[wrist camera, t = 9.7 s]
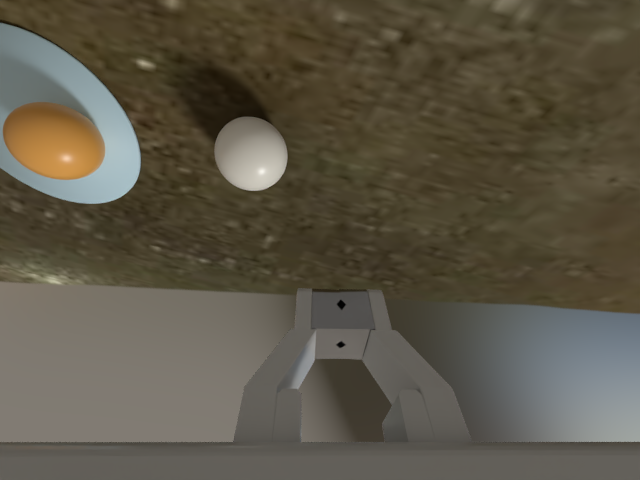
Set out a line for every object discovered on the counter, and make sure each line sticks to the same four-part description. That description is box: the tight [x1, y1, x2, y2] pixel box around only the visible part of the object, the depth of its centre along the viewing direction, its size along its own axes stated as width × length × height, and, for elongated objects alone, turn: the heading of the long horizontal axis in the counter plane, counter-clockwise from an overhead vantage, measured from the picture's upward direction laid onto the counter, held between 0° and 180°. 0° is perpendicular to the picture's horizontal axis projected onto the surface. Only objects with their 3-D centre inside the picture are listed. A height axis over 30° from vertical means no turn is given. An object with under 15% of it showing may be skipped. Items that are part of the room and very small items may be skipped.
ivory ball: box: [215, 117, 287, 191], centre depth 21 cm, size 6×6×6 cm
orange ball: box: [3, 102, 105, 180], centre depth 20 cm, size 6×6×6 cm
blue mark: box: [0, 23, 141, 204], centre depth 22 cm, size 14×14×1 cm
